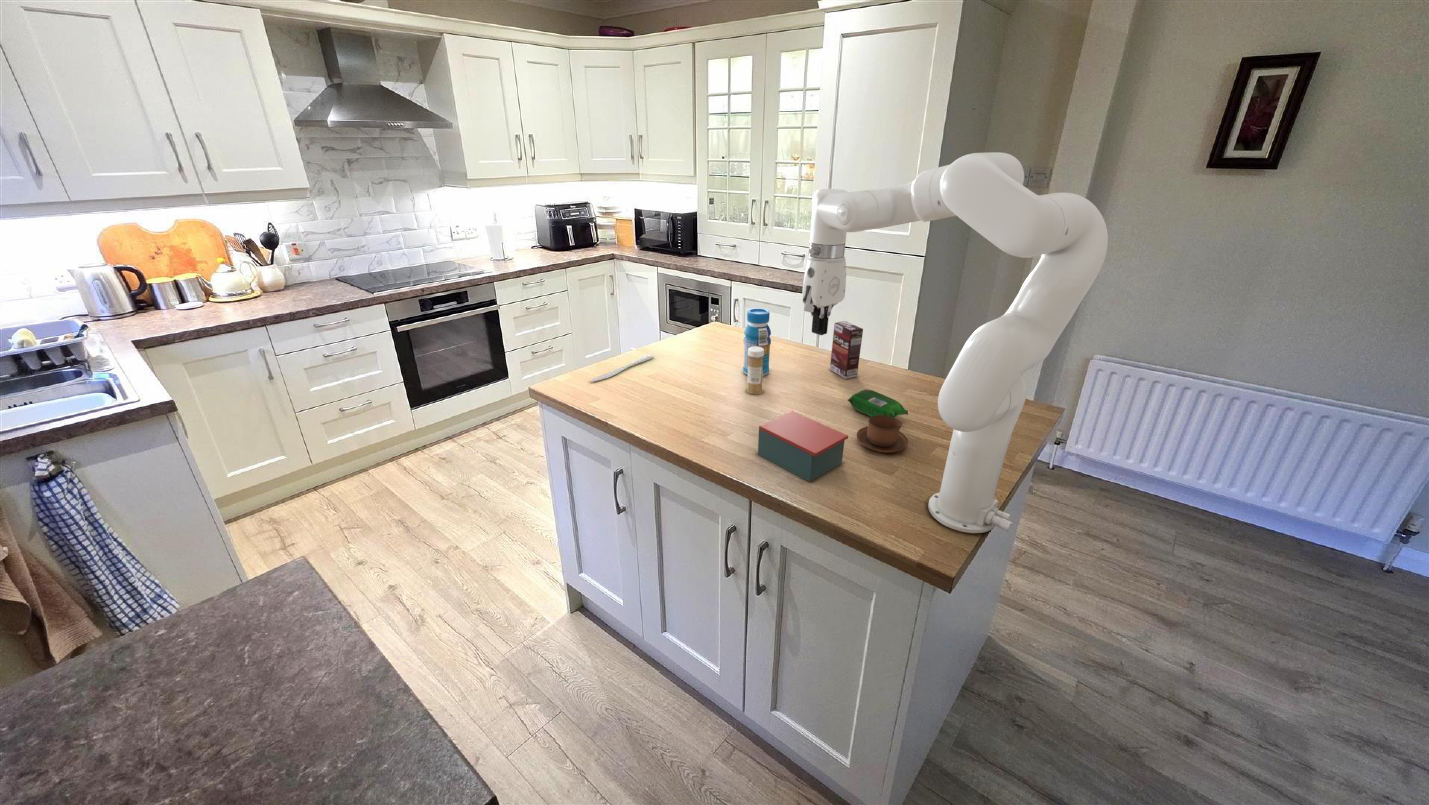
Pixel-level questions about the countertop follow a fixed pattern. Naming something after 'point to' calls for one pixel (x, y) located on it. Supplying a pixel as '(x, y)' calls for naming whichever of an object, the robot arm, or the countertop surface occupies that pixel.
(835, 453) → the open box
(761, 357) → the sprinkles bottle
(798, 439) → the lid
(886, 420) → the cup and saucer
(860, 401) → the snack package
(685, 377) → the countertop surface
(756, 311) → the beverage bottle
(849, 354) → the supplement box
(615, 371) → the butter knife
